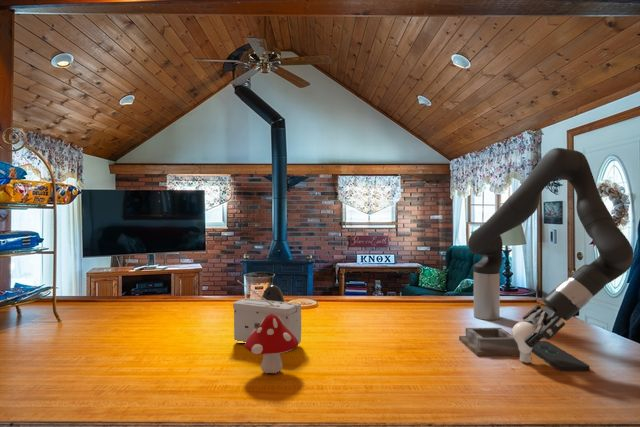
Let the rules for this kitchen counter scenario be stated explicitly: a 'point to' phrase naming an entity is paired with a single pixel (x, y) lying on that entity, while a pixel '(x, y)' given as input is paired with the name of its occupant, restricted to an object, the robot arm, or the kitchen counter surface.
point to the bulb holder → (490, 342)
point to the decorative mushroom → (271, 343)
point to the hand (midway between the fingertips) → (521, 339)
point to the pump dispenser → (273, 294)
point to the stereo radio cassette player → (256, 310)
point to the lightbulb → (523, 339)
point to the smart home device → (558, 357)
